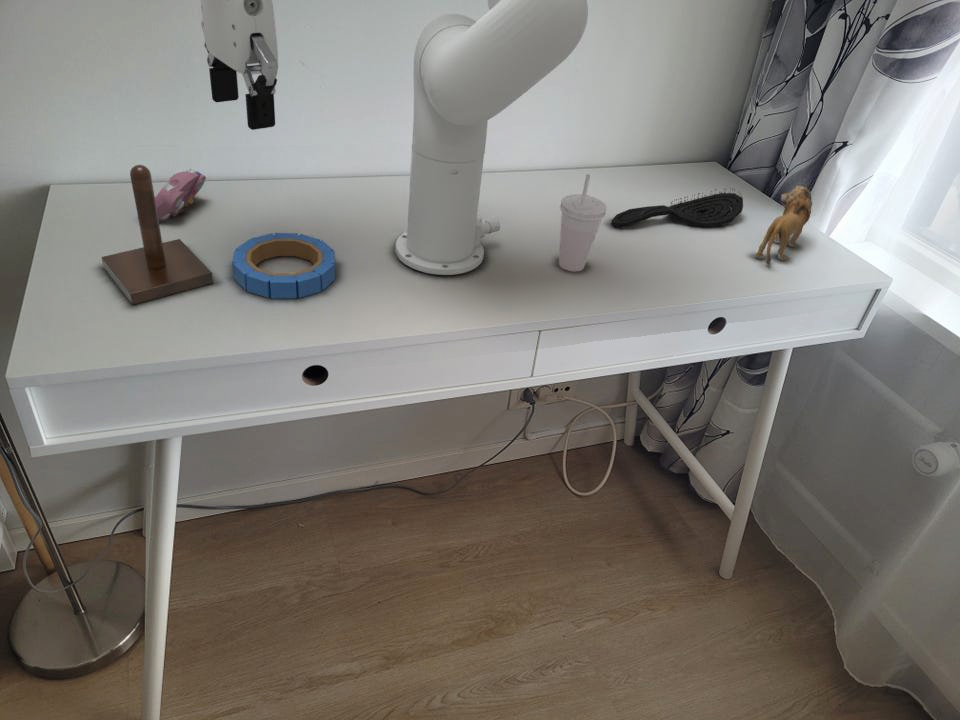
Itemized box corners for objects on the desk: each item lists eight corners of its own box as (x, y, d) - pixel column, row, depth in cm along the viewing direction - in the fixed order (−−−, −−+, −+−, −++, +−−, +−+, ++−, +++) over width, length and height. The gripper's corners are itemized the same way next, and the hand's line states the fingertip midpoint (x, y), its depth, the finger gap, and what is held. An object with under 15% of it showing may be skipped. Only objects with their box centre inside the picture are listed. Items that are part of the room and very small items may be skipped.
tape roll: (304, 240, 106) (304, 225, 104) (353, 281, 98) (353, 266, 97) (218, 262, 98) (216, 246, 97) (263, 309, 91) (262, 292, 90)
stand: (181, 249, 100) (165, 143, 91) (213, 283, 94) (199, 174, 86) (103, 267, 95) (78, 157, 86) (132, 305, 89) (108, 190, 80)
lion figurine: (769, 228, 126) (788, 178, 120) (801, 238, 124) (821, 187, 118) (750, 262, 115) (770, 209, 109) (785, 274, 113) (807, 220, 108)
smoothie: (541, 265, 107) (557, 173, 99) (562, 249, 112) (580, 160, 103) (580, 281, 105) (600, 188, 96) (600, 264, 109) (621, 174, 101)
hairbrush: (601, 198, 121) (726, 180, 130) (598, 219, 123) (720, 200, 132) (628, 222, 115) (757, 202, 124) (624, 243, 117) (750, 221, 126)
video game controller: (166, 235, 106) (180, 198, 102) (136, 216, 105) (150, 179, 101) (200, 206, 113) (215, 171, 109) (173, 189, 113) (188, 153, 109)
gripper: (302, -28, 77) (306, 134, 87) (229, -61, 87) (241, 87, 97) (232, -26, 73) (245, 143, 83) (164, -61, 83) (183, 94, 93)
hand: (243, 113), depth 90 cm, fingers open, 9 cm apart
